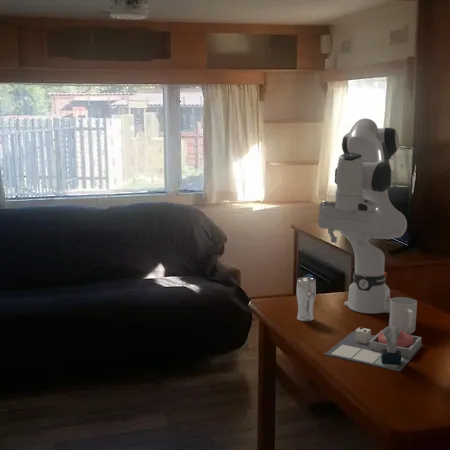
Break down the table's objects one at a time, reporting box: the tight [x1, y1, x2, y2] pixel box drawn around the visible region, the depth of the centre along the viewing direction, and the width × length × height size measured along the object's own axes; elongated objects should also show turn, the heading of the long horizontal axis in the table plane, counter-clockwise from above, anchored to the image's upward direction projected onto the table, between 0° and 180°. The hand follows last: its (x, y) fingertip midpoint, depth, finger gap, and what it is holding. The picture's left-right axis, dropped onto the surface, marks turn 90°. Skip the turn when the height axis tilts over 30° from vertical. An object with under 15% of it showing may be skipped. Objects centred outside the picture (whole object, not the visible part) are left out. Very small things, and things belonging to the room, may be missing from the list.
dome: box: [377, 329, 414, 348], centre depth 203 cm, size 11×11×6 cm
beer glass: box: [296, 276, 317, 322], centre depth 231 cm, size 7×7×15 cm
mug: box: [388, 296, 418, 335], centre depth 217 cm, size 12×9×11 cm
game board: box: [324, 326, 424, 373], centre depth 201 cm, size 25×24×4 cm
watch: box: [381, 325, 401, 365], centre depth 191 cm, size 6×8×11 cm
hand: (347, 243), depth 210 cm, fingers open, 8 cm apart
